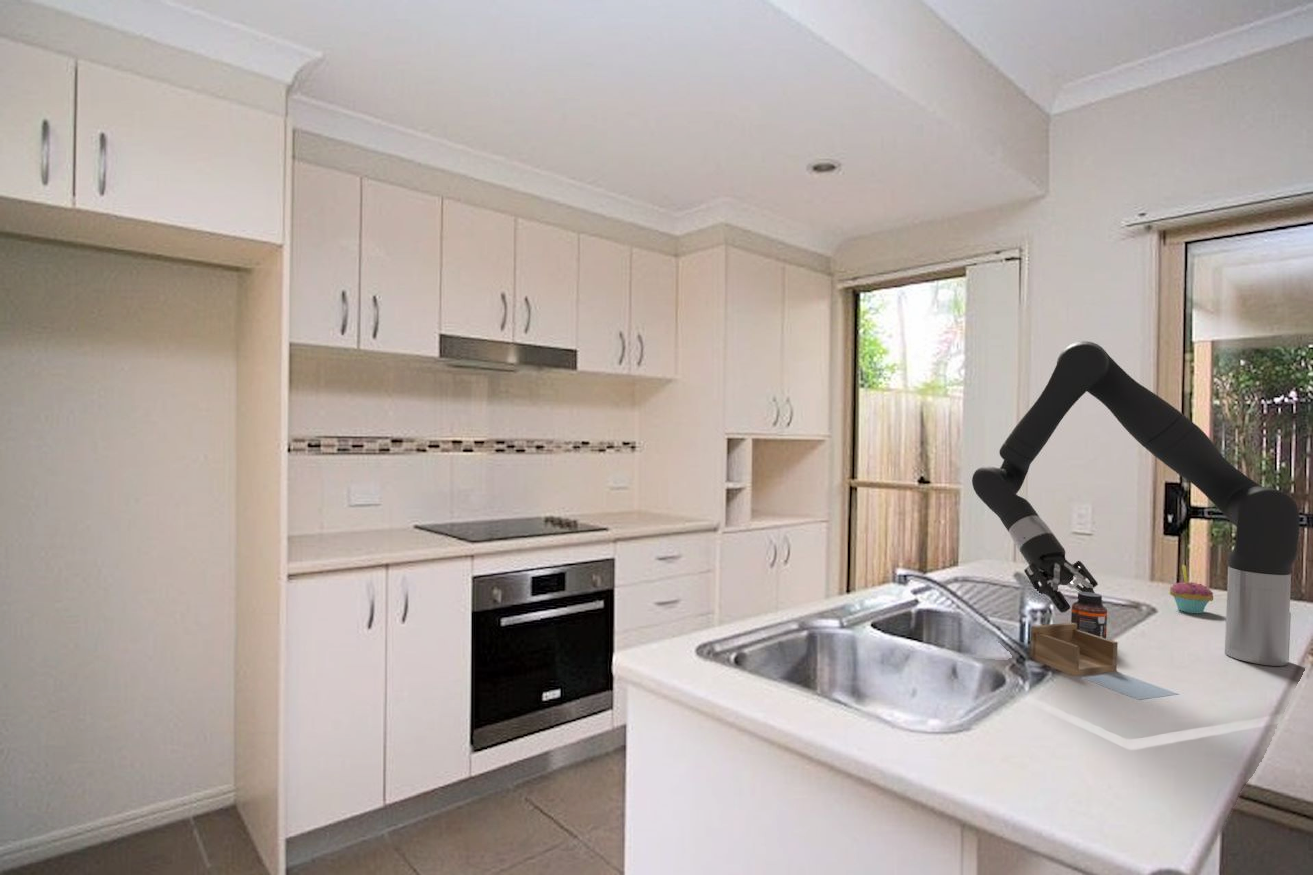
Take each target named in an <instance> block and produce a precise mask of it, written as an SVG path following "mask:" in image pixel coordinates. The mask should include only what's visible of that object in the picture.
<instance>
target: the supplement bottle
mask: <svg viewBox="0 0 1313 875" xmlns="http://www.w3.org/2000/svg"><path fill="white" fill-rule="evenodd" d="M1102 598H1103V597H1102V594H1100V593H1096V592H1095V593H1091V592H1079V591H1077V601H1076V602H1074V603H1072V604H1071V613H1070V614H1071V616H1070V617H1071V619H1070V623H1076V624H1077V629H1078V630H1081V631H1084V632H1087V633H1090V634H1093V635H1096V636H1099V637H1103V638H1106V639H1107V626H1108V609H1107V608H1106V606H1104V605H1103V600H1102ZM1101 602H1102V603H1101Z"/></svg>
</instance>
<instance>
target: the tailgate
mask: <svg viewBox="0 0 1313 875" xmlns="http://www.w3.org/2000/svg"><path fill="white" fill-rule="evenodd" d="M1080 678H1082V679H1084V680H1086V681H1089V682H1091V683H1095V684H1097V685H1099V686H1102V687H1105V688H1107V689H1110V690H1112V691H1115V692H1117V693H1120V694H1123V695H1124V696H1125V695H1126V696H1127V697H1130V698H1133V699H1135V700H1138V701H1142V700H1148V699H1155V698H1162V697H1171V696H1176V695H1178V693H1177V692H1175V691H1172V690H1169V689H1166V688H1163V687H1160V686H1157V685H1155V684H1152V683H1150V682H1146V681H1144V680H1141V679H1138V678H1135V677H1133V676H1130V675H1127V674H1124V673H1122V672H1112V673H1105V674H1103V673H1102V674H1097V675H1095V674H1094V675H1090V676H1088V675H1087V676H1081V677H1080Z"/></svg>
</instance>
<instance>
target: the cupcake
mask: <svg viewBox="0 0 1313 875" xmlns="http://www.w3.org/2000/svg"><path fill="white" fill-rule="evenodd" d="M1181 567H1182V576H1183V582H1177V583H1174V584H1173V585H1172V586H1170V588H1169V595H1170V596H1172V597H1173V598H1174V600H1175V602H1176V607H1177V609H1178V610H1179V611H1180V610H1181V611H1180V612H1182V611H1184V612H1183V613H1187V614H1193V613H1197V614H1198V613H1202V614H1203V613H1204V610H1205V609H1206V606H1207V604H1208V603H1209V602H1212V601H1213V600H1214V595H1213V594H1214V593H1213V592H1212V590H1211V589H1209V588H1208V587H1207V586H1205V585H1204V584H1202V583H1197V582H1189V581H1188V574H1187V573H1188V572H1187V567H1186V565H1185V564H1184V561H1183V562H1182V566H1181ZM1197 614H1196V615H1197ZM1198 615H1199V614H1198Z"/></svg>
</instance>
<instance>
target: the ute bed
mask: <svg viewBox="0 0 1313 875" xmlns="http://www.w3.org/2000/svg"><path fill="white" fill-rule="evenodd" d="M1030 634H1031V636H1030V658H1032V659H1033V660H1032V659H1031V660H1032V661H1036V662H1037V663H1040V664H1043V665H1045V666H1048V667H1050V668H1052V669H1055V670H1058V671H1060V672H1063V673H1066V674H1068V675H1071V676H1073V677H1075V676H1076V677H1077V676H1085V675H1095V674H1101V673H1102V674H1103V673H1108V672H1109V673H1110V672H1117V670H1118V669H1117V667H1118V661H1117V660H1118V647H1119V646H1118V645H1119V642H1117V641H1115V640H1112V639H1108V638H1107V637H1106V638H1103V637H1099V636H1096V635H1093V634H1090V633H1087V632H1084V631H1081V630H1078V629H1077V624H1076V623H1071V622H1063V623H1050V624H1041V625H1031V632H1030Z"/></svg>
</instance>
